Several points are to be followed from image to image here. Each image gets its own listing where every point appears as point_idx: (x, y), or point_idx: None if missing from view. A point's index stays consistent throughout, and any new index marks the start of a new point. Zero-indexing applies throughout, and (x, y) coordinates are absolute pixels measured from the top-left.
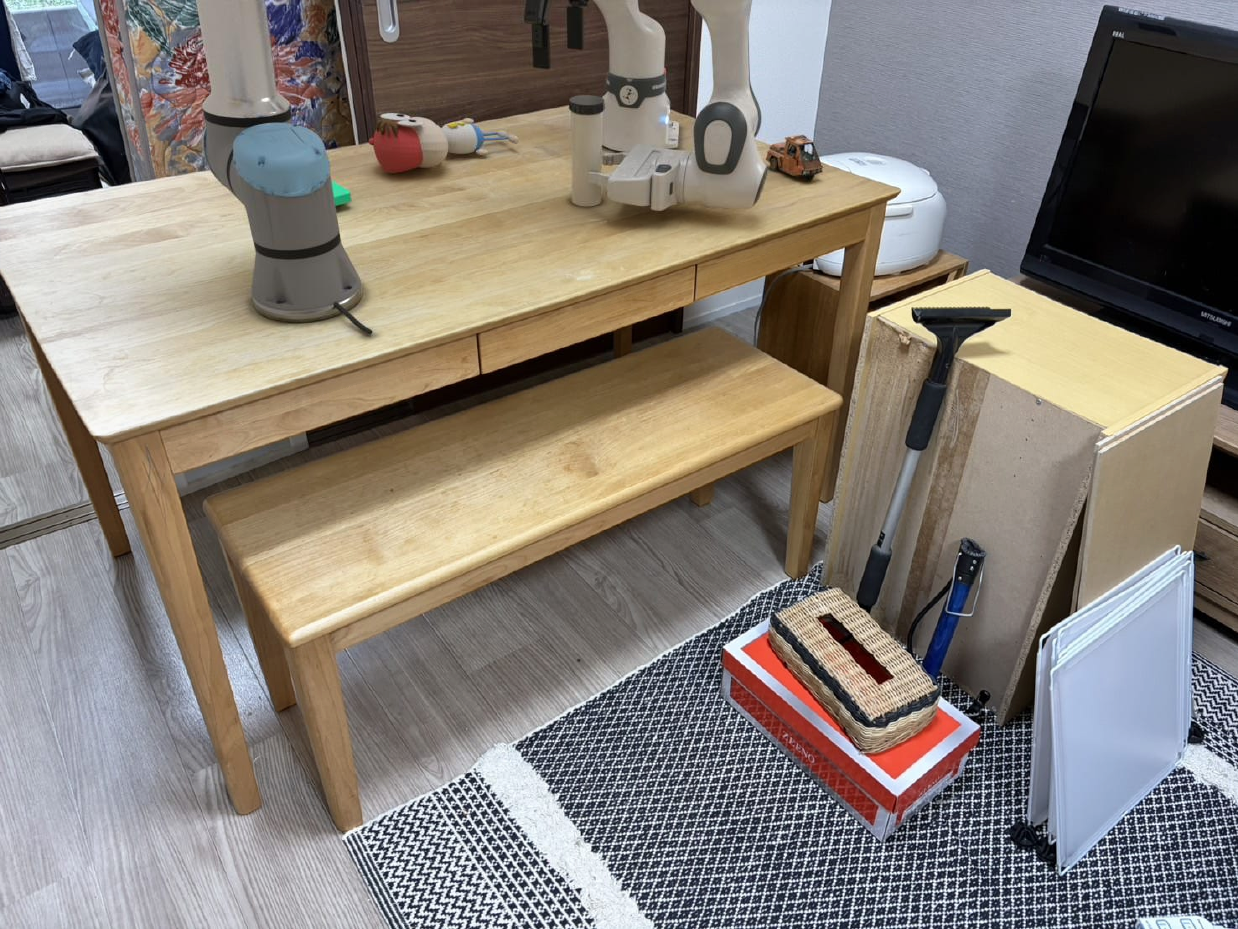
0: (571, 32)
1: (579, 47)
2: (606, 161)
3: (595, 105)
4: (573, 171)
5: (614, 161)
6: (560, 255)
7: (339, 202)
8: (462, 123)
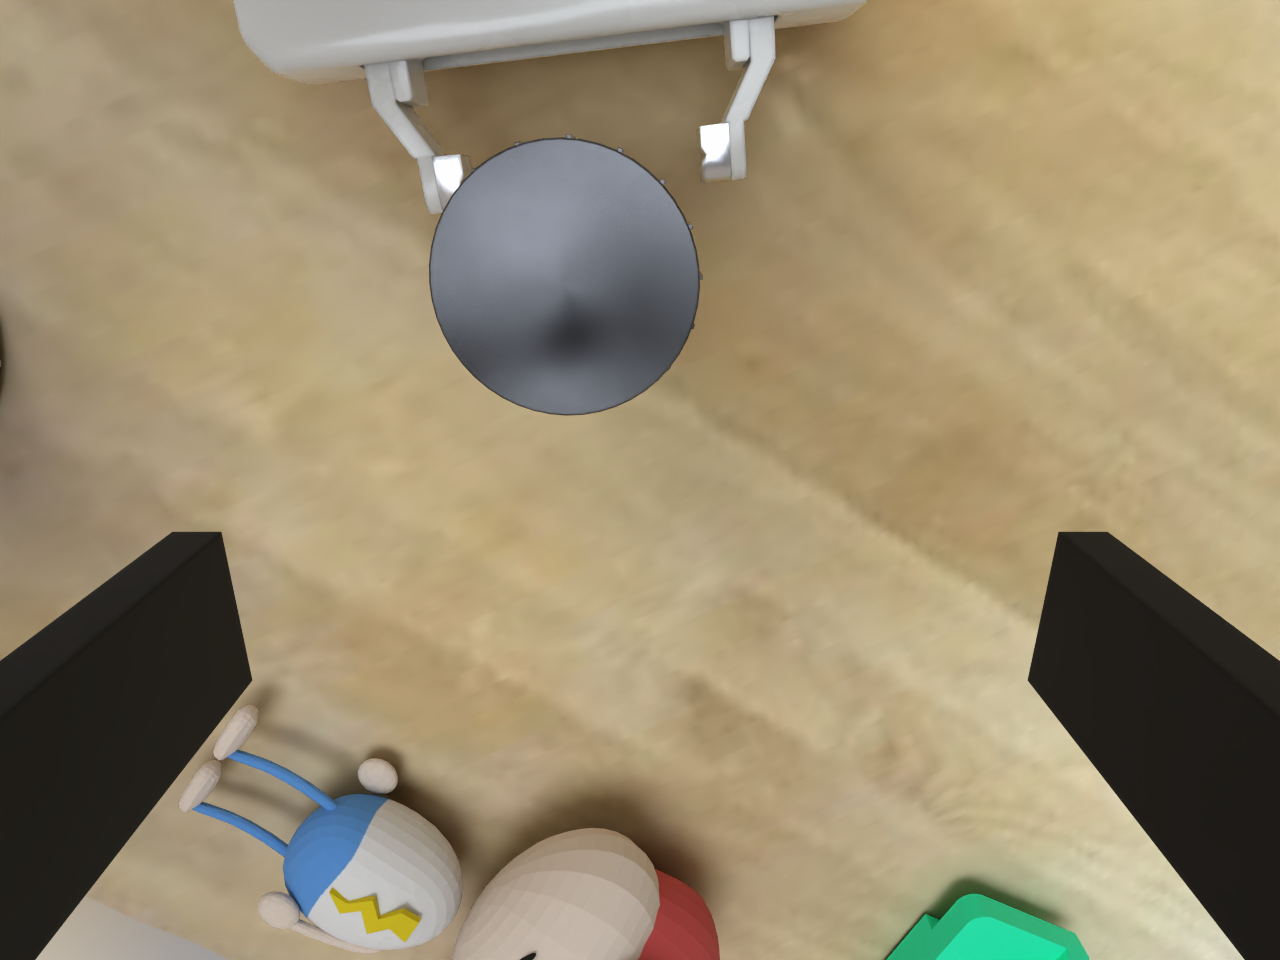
0: (153, 743)
1: (215, 567)
2: None
3: (647, 171)
4: None
5: (439, 149)
6: (1178, 101)
7: (1009, 910)
8: (369, 906)
